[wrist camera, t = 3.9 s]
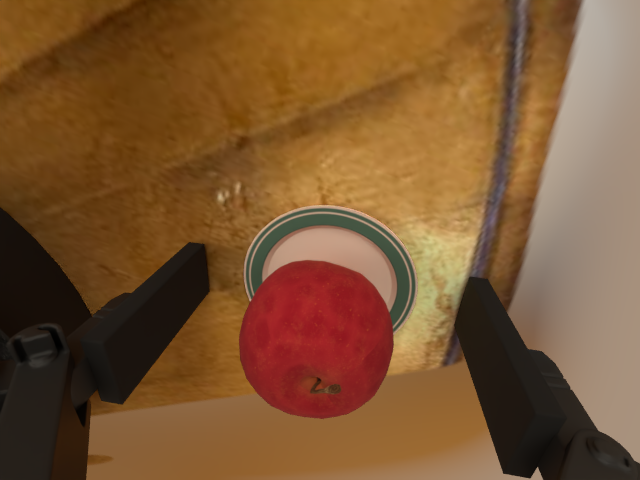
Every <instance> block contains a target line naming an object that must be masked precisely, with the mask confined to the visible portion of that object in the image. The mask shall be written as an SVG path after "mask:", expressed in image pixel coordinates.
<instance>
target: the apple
mask: <svg viewBox="0 0 640 480" xmlns="http://www.w3.org/2000/svg"><path fill="white" fill-rule="evenodd" d="M244 283H245V288H246V292H247V295H248V297H249V300H250V304H249V306H248V308H247V311H246V313H245V315H244V318H243V321H242V326H241V330H240V336H239V346H240V360H241V363H242V366H243V369H244V371H245V375H246V378H247V380H248V381H249V382H250V384H251V385H252V387H253V388H254V389H255V391H256V392H257V393H258V394H259V395H260V396H261V397H262V398H263V399H264V400H265V401H266V402H267V403H268V404H270V405H271V406H273V407H275V408H277V409H280V410H282V411H283V412H286V413H288V414H292V415H297V416H302V417H310V418H320V419H324V418H330V417H336V416H340V415H344V414H348V413H350V412H352V411H354V410H356V409H358V408H359V407H361V406H362V405H363V404H365V403H366V402H367V401H369V400H370V399H371V398H372V397H373V396H374V395H375V393H376V392H377V390H378V389H379V387H380V385H381V383H382V381H383V380H384V378H385V376H386V374H387V371H388V367H389V364H390V360H391V356H392V352H393V345H394V342H393V335H394V334H395V333H396V332H397V331H398V330H399V329H400V328H401V327H402V326H403V325H404V324H405V322H406V321H407V320H408V318H409V316H410V314H411V313H412V310H413V308H414V305H415V302H416V297H417V289H418V281H417V273H416V270H415V266H414V263H413V261H412V258H411V256H410V254H409V252H408V250H407V249H406V247H405V246H404V244H403V242H402V241H401V240H400V239H399V238H398V237H397V236H396V234H395V233H394V232H392V231H391V230H390V229H389V228H388V227H387V226H386V225H384V224H383V223H381V222H380V221H378V220H377V219H375V218H373V217H371V216H369V215H367V214H365V213H363V212H360V211H357V210H354V209H351V208H346V207H341V206H333V205H313V206H307V207H301V208H298V209H295V210H291V211H289V212H287V213H285V214H282V215H280V216H279V217H277V218H276V219H274V220H272V221H271V222H270V223H269V224H267V225H266V226H265V227H264V228H263V229H262V230H261V231H260V232H259V234H258V235H257V236H256V237H255V239H254V240H253V242H252V244H251V245H250V247H249V250H248V252H247V255H246V259H245V263H244Z"/></svg>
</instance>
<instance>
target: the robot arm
mask: <svg viewBox="0 0 640 480" xmlns="http://www.w3.org/2000/svg"><path fill="white" fill-rule="evenodd" d="M208 293H209V282H208V273H207V264H206V256H205V247H204V244H199V243H191V242H189V243H188V244H187V245H185V246H184V247H183V248H182V249H181V250H180V251H179V252H178V253H176V254H175V255H174V256H173V257H172V258H171V259H170V260H169V261H167V262H166V263H165V264H164V265H163V266H162V267H161V268H160V269H158V270H157V271H156V272H155V273H154V274H153V275H152V276H151V277H149V278H148V279H147V280H146V281H145V282H144V283H143V284H142V285H140V286H139V287H138V288H137V289H136V290H135V291H134V292H132V293H123V294H121V295H120V296H118V297H116V298H114V299H112V300H110V301H109V302H108V303H107V304H106V305H104V306H103V307H102V308H101V310H99V311H97V312H96V313H95V314H94V315H93V317H90V318H89V319H88V320H87V321H85V322H84V323H83V324H82V325H81V326H80V327H78V328H77V329H76V330H75V331H74V332H72V333H71V334H70V335H69V336H68V337H65V335H64V332H63V330H62V327H61V326H60V325H58V324H57V323H42V324H37V325H34V326H31V327H28V328H26V329H24V330H22V331H20V332H18V333H17V334H15V335H14V336H13V337H11V338H10V340H9V341H8V342H7V344H6V346H7V348H8V350H9V352H10V354H11V356H12V358H13V360H5V361H0V480H86V473H87V458H88V444H89V443H88V442H89V429H90V414H91V404H90V400H89V398H90V396H91V395H92V394H93V393H94V392H95V391H96V390H98V392H99V395H100V398H101V401H105V402H111V403H117V404H123V403H124V402H125V400H126V399H127V398H128V397H129V395H130V394H131V393H132V391H133V390H134V389H135V387H136V386H137V385H138V384H139V382H140V381H141V380H142V378H143V377H144V376H145V375H146V373H147V372H148V371H149V369H150V368H151V367H152V365H153V364H154V363H155V362H156V360H157V359H158V358H159V356H160V355H161V354H162V352H163V351H164V350H165V349H166V347H167V346H168V345H169V343H170V342H171V341H172V339H173V338H174V337H175V336H176V334H177V333H178V332H179V330H180V329H181V328H182V326H183V325H184V324H185V323H186V321H187V320H188V319H189V317H190V316H191V315H192V313H193V312H194V311H195V310H196V308H197V307H198V306H199V304H200V303H201V302H202V300H203V299H204V298H205V297H206V295H207V294H208ZM454 326H455V329H456V332H457V335H458V338H459V341H460V344H461V347H462V350H463V353H464V356H465V359H466V362H467V365H468V368H469V371H470V374H471V377H472V380H473V383H474V386H475V389H476V392H477V395H478V398H479V401H480V404H481V407H482V411H483V414H484V417H485V419H486V422H487V426H488V429H489V432H490V435H491V438H492V441H493V444H494V447H495V450H496V453H497V456H498V459H499V462H500V465H501V468H502V471H503V474H509V475H515V476H520V477H525V478H531V476H532V475H533V473H534V471H535V470H536V468H537V467H538V468H539V471H540V473H541V475H542V478H543V480H640V464H639V463H638V462H636V461H634V460H633V458H632V457H631V455H630V454H629V452H627V450H626V449H625V448H624V447H623V446H621V444H619V443H618V442H617V441H615V440H614V439H612V438H611V437H610V436H608V435H606V434H604V433H602V432H599V431H598V430H597V428H596V426H595V425H594V423H593V422H592V420H591V419H590V417H589V416H588V414H587V412H586V411H585V409H584V408H583V406H582V405H581V403H580V402H579V400H578V398H577V397H576V395H575V394H574V392H573V391H572V390H570V386H569V384H568V383H567V381H566V380H565V379H563V375H562V373H561V372H560V370H559V369H558V367H557V366H556V364H555V363H554V362H553V361H552V360H550V358H549V357H547V356H546V355H545V354H544V353H543V352H542V351H537V350H529V349H527V347H526V345H525V344H524V342H523V340H522V339H521V337H520V335H519V333H518V331H517V330H516V328H515V326H514V325H513V323H512V321H511V319H510V317H509V316H508V314H507V312H506V310H505V309H504V307H503V305H502V303H501V302H500V300H499V298H498V296H497V295H496V293H495V291H494V290H493V288H492V286H491V284H490V283H489V281H488V279H483V278H475V277H469V280H468V283H467V286H466V289H465V293H464V296H463V299H462V302H461V305H460V309H459V312H458V315H457V318H456V321H455V325H454Z"/></svg>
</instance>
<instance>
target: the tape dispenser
mask: <svg viewBox="0 0 640 480" xmlns="http://www.w3.org/2000/svg"><path fill="white" fill-rule="evenodd" d="M90 317H92V316H91V314H90V313H89V311H88V309H87V308H86V306H85V304H84V302H83V301H82V299H81V297H80V295H79V294H78V292H77V290H76V289H75V288H74V286H73V285H72V284H71V282H70V281H69V279H68V278H67V277H66V275H65V274H64V273H63V271H62V270H61V269H60V267H59V266H58V265H57V264H56V262H55V261H54V260H53V259H52V258H51V257H50V256H49V255H48V253H47V252H46V251H45V250H44V249H43V248H42V247H41V246H40V244H39V243H38V242H37V241H36V240H35V239H34V238H33V237H32V236H31V235H30V234H29V233H28V232H27V231H26V230H25V229H23V228H22V227H21V226H20V225H19V224H18V223H17V222H16V221H15V220H14V219H13V218H12V217H11V216H10V215H8V214H7V213H6V212H5V211H4V210H2V209H1V208H0V361H5V360H13V358H12V356H11V354H10V352H9V350H8V348H7V346H6V344H7V342H8V341H9V340H10V338H11V337H13V336H14V335H15V334H17V333H18V332H20V331H22V330H24V329H26V328H28V327H31V326H34V325H37V324H42V323H57V324H58V325H60V326H61V327H62V330H63V332H64V335H65V337H68V336H69V335H70V334H71V333H72V332H74V331H75V330H76V329H77V328H78V327H80V326H81V325H82V324H83V323H84V322H85V321H87V320H88V319H89V318H90Z"/></svg>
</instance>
